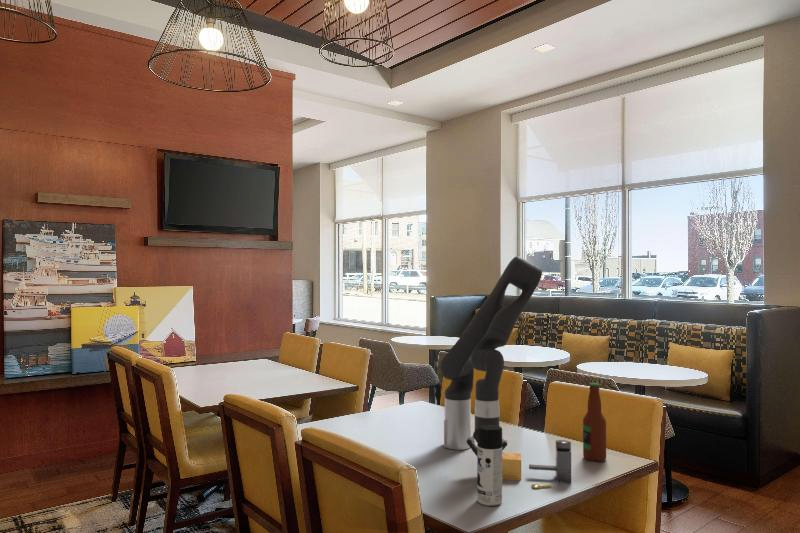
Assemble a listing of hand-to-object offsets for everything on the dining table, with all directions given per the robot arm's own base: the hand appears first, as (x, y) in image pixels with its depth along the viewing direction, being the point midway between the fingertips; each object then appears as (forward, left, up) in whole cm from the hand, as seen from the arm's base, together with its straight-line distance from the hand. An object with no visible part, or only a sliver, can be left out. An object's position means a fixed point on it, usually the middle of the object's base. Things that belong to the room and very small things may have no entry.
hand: (486, 470), depth 177 cm
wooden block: (+7, 0, -1) cm, 7 cm away
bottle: (+35, +22, -1) cm, 41 cm away
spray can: (+2, -22, -1) cm, 22 cm away
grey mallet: (+19, 0, -1) cm, 19 cm away
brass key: (+17, -8, -1) cm, 18 cm away
